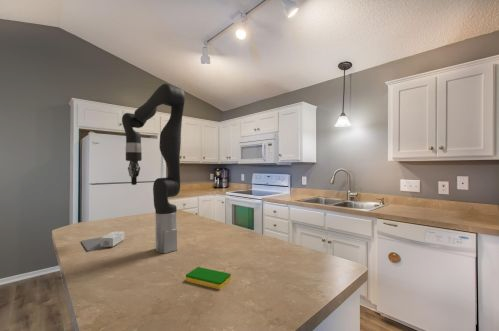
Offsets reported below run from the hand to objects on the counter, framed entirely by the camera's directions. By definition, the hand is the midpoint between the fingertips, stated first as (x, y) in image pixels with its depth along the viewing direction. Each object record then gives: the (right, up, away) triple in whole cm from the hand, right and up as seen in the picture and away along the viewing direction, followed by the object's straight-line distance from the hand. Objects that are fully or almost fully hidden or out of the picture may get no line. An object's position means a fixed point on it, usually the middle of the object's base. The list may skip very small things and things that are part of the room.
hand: (134, 184), depth 122 cm
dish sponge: (+47, -29, -44) cm, 71 cm away
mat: (-15, -29, -6) cm, 33 cm away
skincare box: (-7, -26, -13) cm, 30 cm away
